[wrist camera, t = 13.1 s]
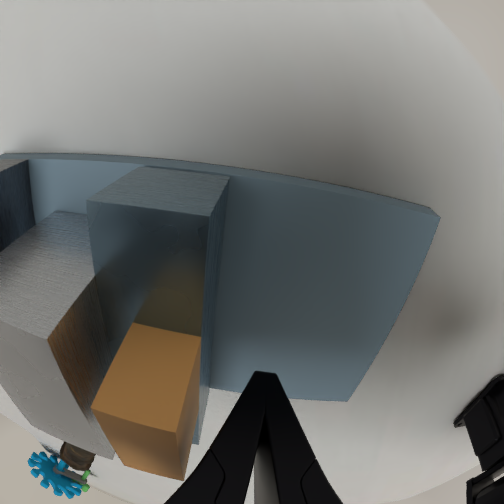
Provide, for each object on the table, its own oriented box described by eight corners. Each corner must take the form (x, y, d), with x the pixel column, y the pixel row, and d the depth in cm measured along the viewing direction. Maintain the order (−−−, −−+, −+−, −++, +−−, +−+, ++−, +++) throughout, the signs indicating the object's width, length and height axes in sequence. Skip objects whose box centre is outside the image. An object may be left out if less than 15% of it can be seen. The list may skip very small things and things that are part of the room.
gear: (26, 447, 31) (27, 484, 22) (38, 426, 33) (39, 463, 24) (80, 473, 36) (90, 510, 28) (93, 454, 38) (105, 491, 30)
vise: (429, 207, 10) (492, 268, 6) (345, 387, 16) (354, 455, 12) (3, 154, 10) (-65, 186, 6) (41, 327, 15) (6, 376, 11)
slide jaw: (230, 176, 9) (164, 309, 4) (209, 392, 14) (187, 500, 9) (138, 166, 9) (0, 266, 4) (153, 380, 14) (119, 482, 9)
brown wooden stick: (95, 450, 27) (84, 480, 23) (66, 435, 26) (54, 464, 22) (143, 405, 19) (126, 458, 15) (95, 378, 18) (70, 429, 14)
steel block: (141, 221, 10) (46, 339, 5) (151, 353, 14) (112, 460, 8) (55, 210, 10) (-48, 296, 5) (82, 335, 14) (31, 425, 8)
